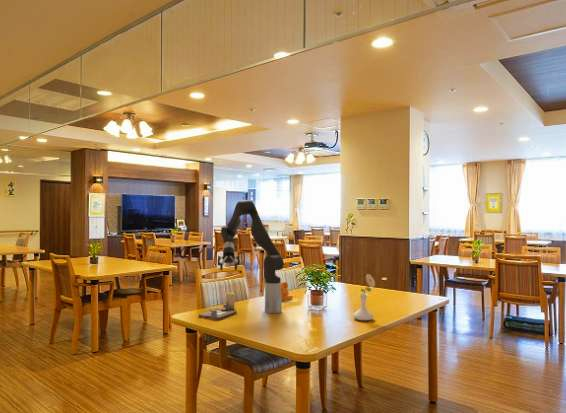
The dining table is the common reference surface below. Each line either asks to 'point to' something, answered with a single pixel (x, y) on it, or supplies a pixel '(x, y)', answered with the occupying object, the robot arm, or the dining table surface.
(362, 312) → the flower in vase
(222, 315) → the coupling base
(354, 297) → the dining table surface
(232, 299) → the coupler
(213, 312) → the driven shaft
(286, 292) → the bracket
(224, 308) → the drive shaft
